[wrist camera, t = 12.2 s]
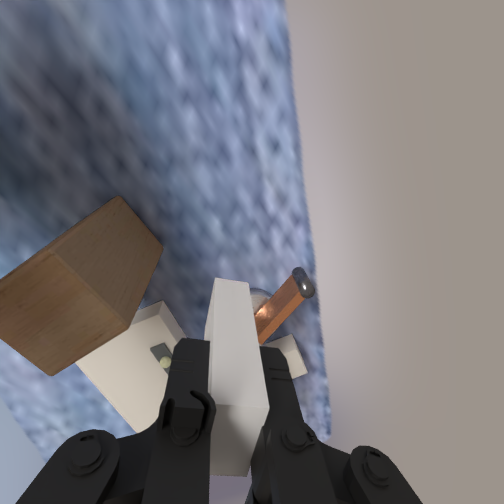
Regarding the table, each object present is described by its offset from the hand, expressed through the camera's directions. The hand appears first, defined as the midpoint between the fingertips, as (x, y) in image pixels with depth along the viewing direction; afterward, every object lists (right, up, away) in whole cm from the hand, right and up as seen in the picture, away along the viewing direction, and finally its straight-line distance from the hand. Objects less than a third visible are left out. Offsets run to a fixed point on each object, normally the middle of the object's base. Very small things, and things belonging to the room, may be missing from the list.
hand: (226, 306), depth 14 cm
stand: (-9, -14, +41) cm, 44 cm away
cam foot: (+3, -6, +38) cm, 38 cm away
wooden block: (-19, +4, +32) cm, 37 cm away
